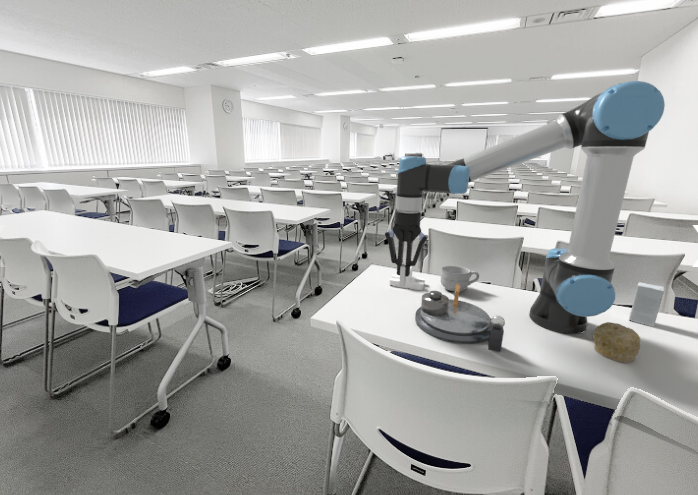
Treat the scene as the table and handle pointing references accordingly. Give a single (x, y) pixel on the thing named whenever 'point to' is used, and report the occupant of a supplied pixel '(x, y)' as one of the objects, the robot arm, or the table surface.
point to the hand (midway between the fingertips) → (402, 285)
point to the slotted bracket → (408, 281)
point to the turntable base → (450, 337)
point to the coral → (616, 342)
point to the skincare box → (646, 304)
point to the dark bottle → (496, 333)
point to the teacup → (456, 277)
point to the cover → (434, 303)
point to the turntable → (459, 318)
